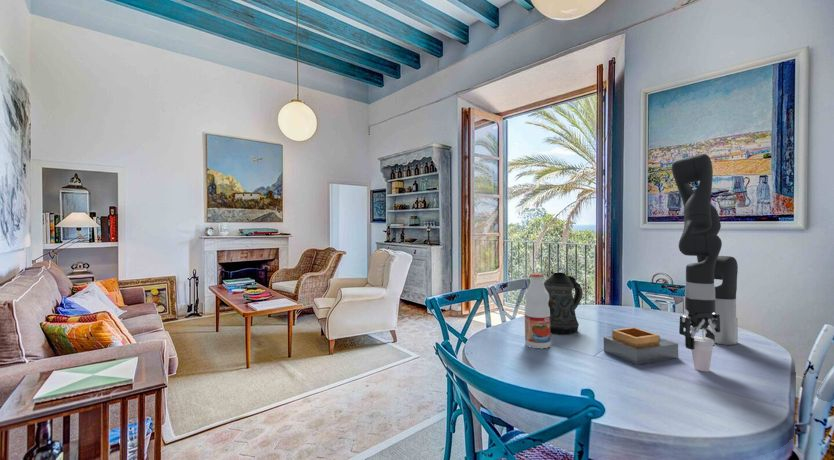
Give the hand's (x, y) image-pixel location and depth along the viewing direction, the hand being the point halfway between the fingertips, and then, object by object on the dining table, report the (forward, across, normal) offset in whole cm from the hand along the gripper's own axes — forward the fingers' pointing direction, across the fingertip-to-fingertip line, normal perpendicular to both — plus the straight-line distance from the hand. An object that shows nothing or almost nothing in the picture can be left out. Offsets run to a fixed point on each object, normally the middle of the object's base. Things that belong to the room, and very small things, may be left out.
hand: (700, 347), depth 111 cm
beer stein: (+7, +13, -51) cm, 53 cm away
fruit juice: (+8, +35, -36) cm, 50 cm away
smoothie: (+7, 0, 0) cm, 7 cm away
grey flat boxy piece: (+7, +5, -16) cm, 18 cm away
